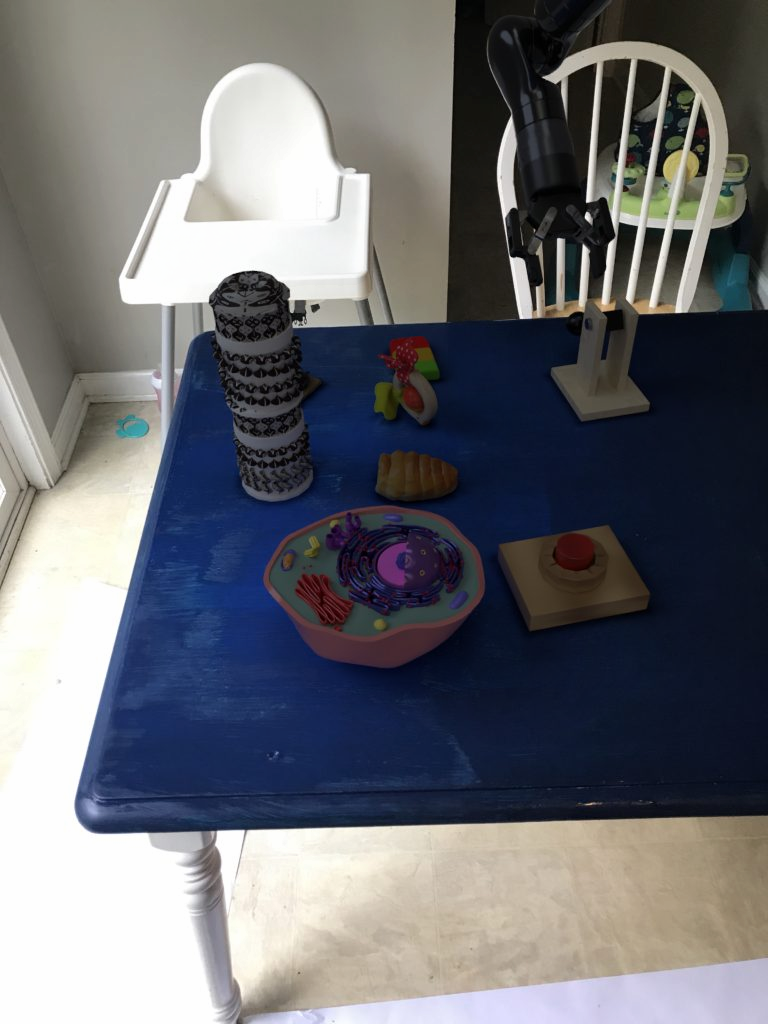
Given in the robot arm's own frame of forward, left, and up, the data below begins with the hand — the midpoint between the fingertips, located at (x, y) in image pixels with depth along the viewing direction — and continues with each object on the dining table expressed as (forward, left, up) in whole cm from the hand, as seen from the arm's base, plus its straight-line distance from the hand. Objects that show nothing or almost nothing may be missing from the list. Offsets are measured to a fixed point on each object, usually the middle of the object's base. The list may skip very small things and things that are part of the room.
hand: (569, 281), depth 112 cm
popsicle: (+22, +3, -10) cm, 24 cm away
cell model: (+36, +45, -10) cm, 58 cm away
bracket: (0, +13, -10) cm, 16 cm away
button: (+16, +44, -6) cm, 47 cm away
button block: (+16, +44, -10) cm, 48 cm away
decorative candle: (+43, +20, -10) cm, 48 cm away
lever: (0, +9, -3) cm, 10 cm away
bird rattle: (+25, +12, -10) cm, 29 cm away
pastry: (+28, +25, -10) cm, 39 cm away
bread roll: (+41, +1, -10) cm, 42 cm away
